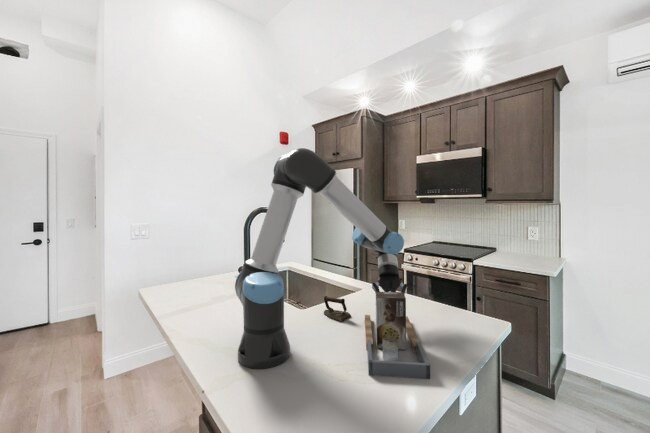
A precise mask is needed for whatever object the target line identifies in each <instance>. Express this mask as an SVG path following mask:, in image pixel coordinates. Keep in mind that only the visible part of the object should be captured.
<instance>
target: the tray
mask: <svg viewBox="0 0 650 433" xmlns="http://www.w3.org/2000/svg"><path fill="white" fill-rule="evenodd" d="M372 352H373V351H372V349H371V339H367V352H366V353H367V354H366V355H367V368H368V376H375V377H377V376H378V377H379V376H380V377H395V378H409V379H410V378H412V379H428V380H430V379H431V364H430V362H429V360H428V357H427V354H426V353H425V351H424V348H423V346H422V343H421V342H420V341H418V342H416V353H415V354H416V356H417V359H418V361H419V362H412V361H411V362H409V361H398V362H396V361H383V360H377V359H376V360H374V359H373V353H372Z"/></svg>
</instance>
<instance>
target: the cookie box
mask: <svg viewBox="0 0 650 433" xmlns="http://www.w3.org/2000/svg"><path fill="white" fill-rule="evenodd" d="M406 316H407V299H406V294H405V295H404V293H403V292H401V291H400V292H399V291H396V292H384V291H380V292H376V293H375V343H376V344H375V346H376V349H381V350H382V336H384V337H396V341H397V348H398V350H405V351H407V333H406Z"/></svg>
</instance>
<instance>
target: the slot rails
mask: <svg viewBox="0 0 650 433" xmlns="http://www.w3.org/2000/svg"><path fill="white" fill-rule="evenodd" d="M371 320H372V319H371V315H370V314H364V329H365V347H366V349H365V350H366V351H367V339H371V349H372V352H373V351H374V341H373V331H372V322H371ZM406 337H407V339H408V342H409V344H410V347H411V349H412V352H413V354H416V342H419V340H418V337H417V334H416V333H415V331H414V328H413V326H412V323H411V321H410V319H409V317H408V316H407V315H406Z"/></svg>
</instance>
